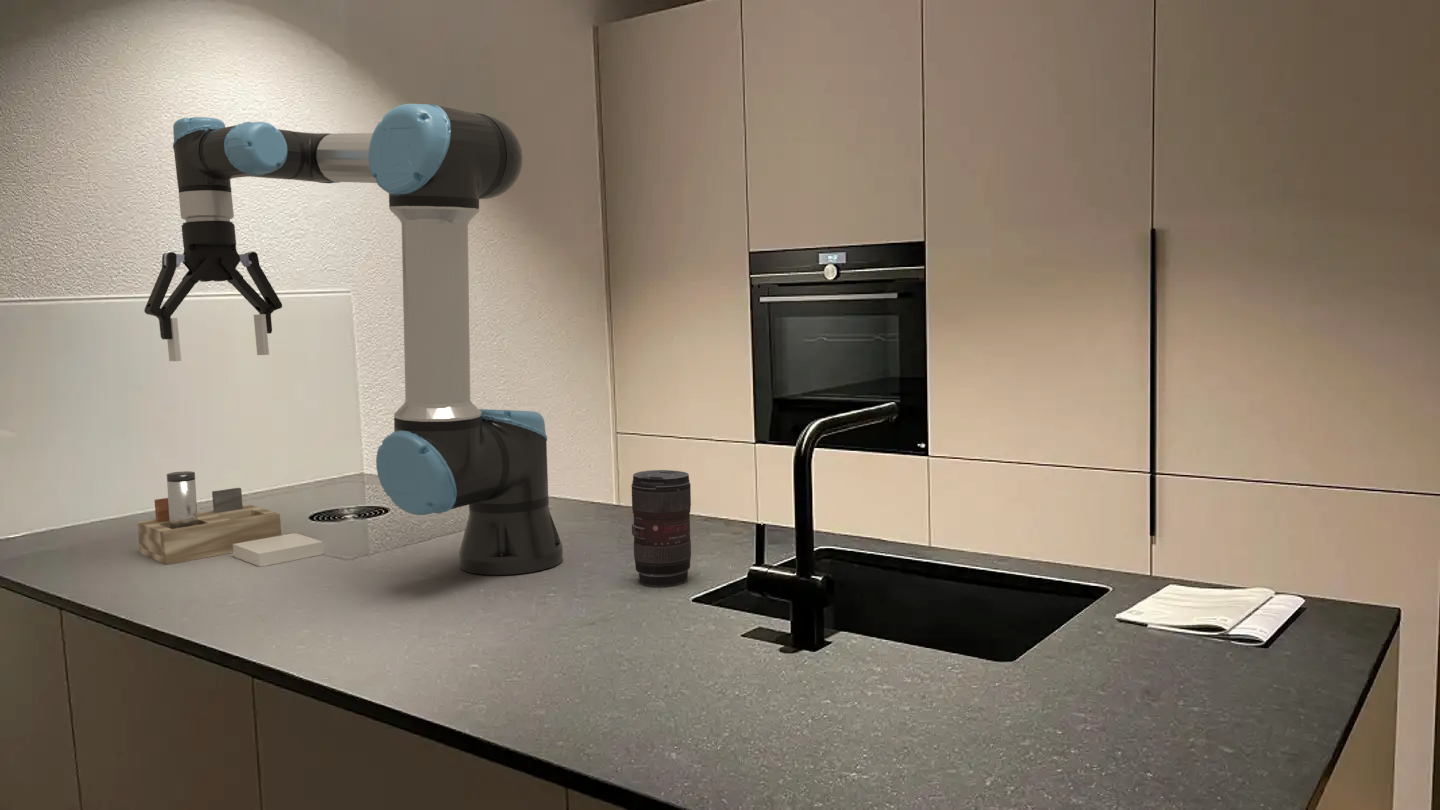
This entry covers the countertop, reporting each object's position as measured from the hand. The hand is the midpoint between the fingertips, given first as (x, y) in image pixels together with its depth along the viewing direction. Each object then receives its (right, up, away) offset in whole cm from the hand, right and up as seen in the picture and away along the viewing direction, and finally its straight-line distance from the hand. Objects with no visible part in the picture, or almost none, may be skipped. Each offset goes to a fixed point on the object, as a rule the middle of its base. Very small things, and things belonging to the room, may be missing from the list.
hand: (220, 358), depth 176 cm
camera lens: (+71, -32, -21) cm, 80 cm away
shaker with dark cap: (-6, -30, +2) cm, 31 cm away
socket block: (-4, -31, +6) cm, 32 cm away
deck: (+9, -31, 0) cm, 32 cm away
